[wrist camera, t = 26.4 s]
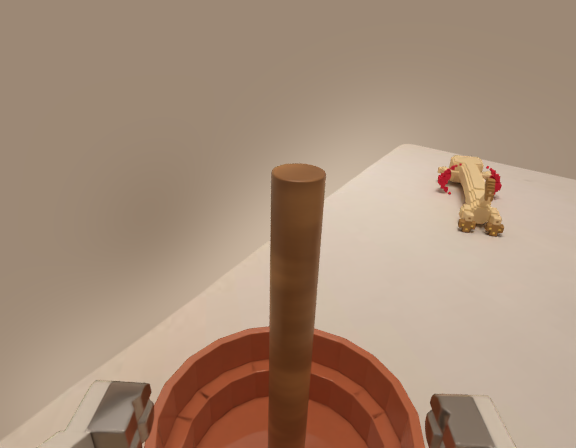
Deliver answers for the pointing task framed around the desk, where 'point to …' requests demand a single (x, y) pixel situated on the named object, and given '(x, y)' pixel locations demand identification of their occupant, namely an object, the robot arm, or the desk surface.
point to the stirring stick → (293, 297)
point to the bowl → (255, 396)
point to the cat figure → (474, 192)
